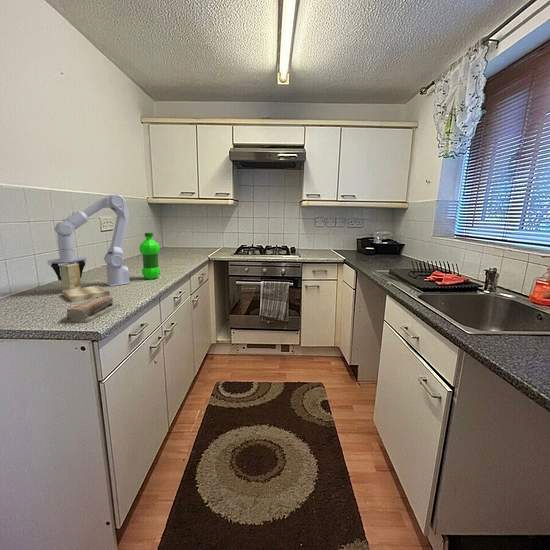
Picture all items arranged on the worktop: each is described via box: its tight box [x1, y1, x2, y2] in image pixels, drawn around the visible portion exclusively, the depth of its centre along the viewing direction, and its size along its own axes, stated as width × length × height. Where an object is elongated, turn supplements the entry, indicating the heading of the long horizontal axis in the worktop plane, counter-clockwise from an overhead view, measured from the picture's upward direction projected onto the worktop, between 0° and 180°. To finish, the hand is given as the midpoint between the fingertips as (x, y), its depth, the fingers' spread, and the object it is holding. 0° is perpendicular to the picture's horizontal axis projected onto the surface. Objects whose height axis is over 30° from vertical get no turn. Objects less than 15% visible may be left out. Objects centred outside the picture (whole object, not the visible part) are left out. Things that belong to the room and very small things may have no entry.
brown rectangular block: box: [60, 295, 121, 323], centre depth 106 cm, size 18×5×10 cm
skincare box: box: [59, 262, 82, 291], centre depth 133 cm, size 6×4×12 cm
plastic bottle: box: [139, 232, 162, 280], centre depth 161 cm, size 10×10×25 cm
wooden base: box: [62, 285, 110, 303], centre depth 128 cm, size 14×14×2 cm
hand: (70, 278), depth 135 cm, fingers closed on skincare box, 7 cm apart
